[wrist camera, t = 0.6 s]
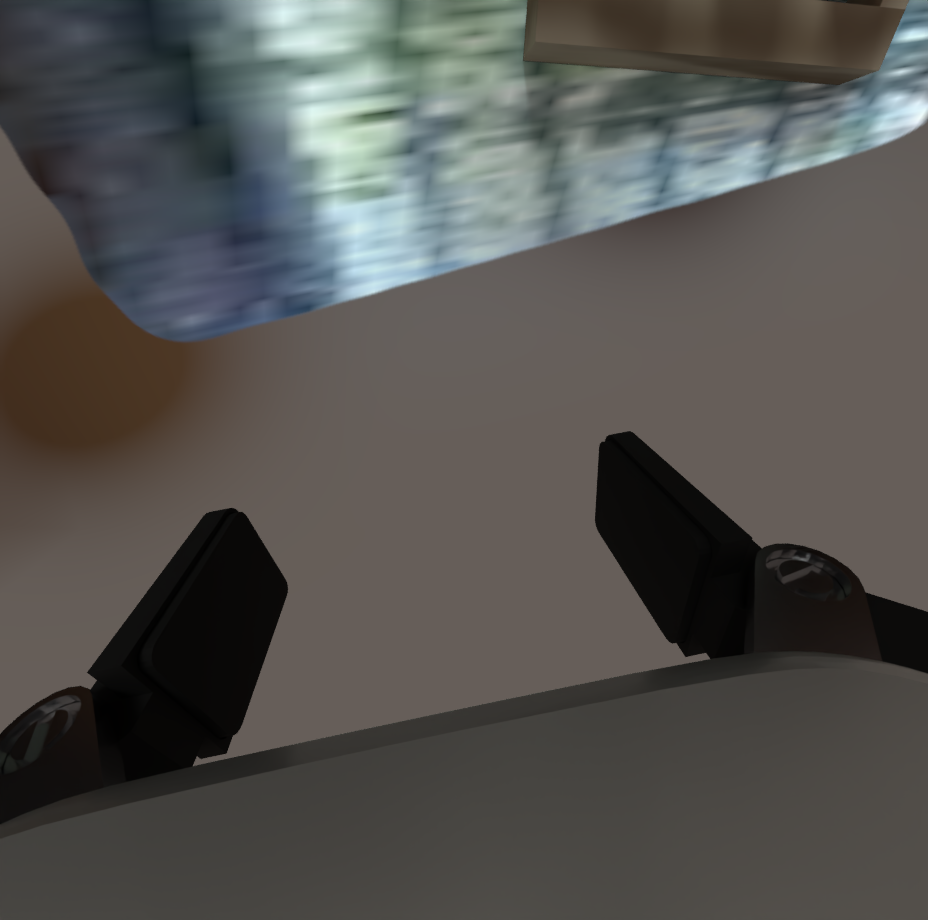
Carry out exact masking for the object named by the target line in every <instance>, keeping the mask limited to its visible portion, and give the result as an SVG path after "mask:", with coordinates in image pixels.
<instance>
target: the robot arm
mask: <svg viewBox="0 0 928 920" xmlns="http://www.w3.org/2000/svg"><path fill="white" fill-rule="evenodd" d="M595 523H596V527H597V530H598V532H599V533H600V535H601V537H602V538H603V540H604V541H605V543H606V544H607V546H608V548H609V549H610V551H611V552H612V554H613V556H614V557H615V559H616V560H617V562H618V563H619V565H620V567H621V568H622V570H623V571H624V573H625V574H626V576H627V578H628V579H629V581H630V582H631V584H632V585H633V587H634V589H635V590H636V592H637V593H638V595H639V597H640V598H641V599H642V601H643V603H644V604H645V606H646V607H647V609H648V611H649V612H650V614H651V615H652V617H653V619H654V620H655V622H656V623H657V625H658V626H659V628H660V630H661V631H662V633H663V634H664V636H665V637H666V639H667V640H668V641H669V642H671V643H677V644H678V646H679V648H680V649H681V651H682V652H683V654H684V655H685V657H688V656H692V655H697V654H702V653H707V655H708V656H709V657H710V660H703V661H698V662H693V663H688V664H682V665H677V666H671V667H666V668H661V669H656V670H650V671H644V672H639V673H633V674H629V675H624V676H619V677H614V678H609V679H604V680H599V681H595V682H589V683H585V684H580V685H575V686H570V687H565V688H560V689H555V690H550V691H545V692H541V693H536V694H531V695H526V696H521V697H516V698H511V699H506V700H502V701H497V702H492V703H487V704H482V705H478V706H473V707H468V708H463V709H459V710H454V711H449V712H444V713H440V714H435V715H430V716H425V717H421V718H416V719H411V720H406V721H402V722H397V723H392V724H388V725H383V726H378V727H374V728H369V729H364V730H359V731H354V732H350V733H345V734H340V735H335V736H331V737H326V738H321V739H317V740H312V741H307V742H303V743H298V744H294V745H289V746H284V747H280V748H275V749H270V750H266V751H261V752H257V753H252V754H248V755H243V756H238V757H234V758H229V759H224V760H220V761H215V762H211V763H206V764H201V765H197V766H193V764H194V761H195V759H196V756H198V757H199V758H201V759H203V758H207V757H212V756H217V755H222V754H226V753H227V751H228V748H229V745H230V742H231V739H232V737H233V735H235V734H236V733H237V732H238V731H239V729H240V728H241V725H242V723H243V720H244V717H245V714H246V711H247V709H248V706H249V703H250V700H251V697H252V694H253V691H254V688H255V686H256V682H257V680H258V677H259V674H260V671H261V668H262V665H263V663H264V660H265V657H266V654H267V651H268V648H269V645H270V642H271V639H272V636H273V634H274V631H275V628H276V625H277V622H278V619H279V617H280V614H281V611H282V608H283V605H284V602H285V599H286V596H287V593H288V585H287V582H286V580H285V578H284V576H283V575H282V573H281V571H280V570H279V568H278V566H277V565H276V563H275V562H274V560H273V558H272V557H271V555H270V553H269V552H268V550H267V549H266V547H265V545H264V544H263V542H262V540H261V539H260V537H259V536H258V534H257V532H256V531H255V530H254V527H253V526H252V524H251V522H250V521H249V519H248V518H247V516H246V515H245V514H244V513H243V512H238V511H237V510H236V509H234V508H229V509H223V510H218V511H213V512H209V513H206V514H205V515H204V516H203V518H202V519H201V520H200V522H199V523H198V524H197V526H196V527H195V528H194V530H193V531H192V532H191V534H190V535H189V536H188V538H187V539H186V540H185V542H184V543H183V544H182V546H181V547H180V549H179V550H178V551H177V552H176V554H175V555H174V557H173V558H172V559H171V561H170V562H169V563H168V565H167V566H166V567H165V569H164V570H163V571H162V573H161V574H160V575H159V577H158V578H157V579H156V581H155V582H154V584H153V585H152V586H151V587H150V589H149V590H148V591H147V593H146V594H145V595H144V597H143V598H142V599H141V601H140V602H139V604H138V605H137V606H136V608H135V609H134V610H133V612H132V613H131V614H130V616H129V617H128V618H127V620H126V621H125V622H124V624H123V625H122V627H121V628H120V629H119V630H118V632H117V633H116V635H115V636H114V637H113V638H112V640H111V641H110V642H109V644H108V645H107V647H106V648H105V649H104V651H103V652H102V653H101V655H100V656H99V657H98V659H97V660H96V661H95V663H94V664H93V665H92V667H91V668H90V669H89V671H88V672H87V673H88V674H90V675H91V676H92V677H94V678H95V679H96V680H97V681H96V683H95V684H94V686H93V687H92V688H91V690H90V689H88V688H85V687H82V686H76V687H68V688H66V689H63V690H61V691H58V692H55V693H53V694H51V695H50V696H48V697H46V698H45V699H42V700H41V701H39V702H37V703H36V704H35V705H33V706H32V707H30V708H29V709H28V710H26V711H25V712H23V713H22V714H21V715H20V716H19V717H17V718H16V719H15V720H14V721H13V722H12V723H11V724H10V725H8V726H7V727H6V728H5V729H4V730H3V731H2V733H1V734H0V920H928V612H926V611H923V610H920V609H917V608H914V607H910V606H907V605H904V604H901V603H897V602H894V601H891V600H888V599H885V598H882V597H878V596H875V595H871V594H868V593H866V592H865V590H864V587H863V586H862V584H861V582H860V580H859V578H858V577H857V576H856V575H855V574H854V573H853V572H852V571H851V570H850V569H849V568H848V567H847V566H845V565H844V564H842V563H841V562H839V561H838V560H837V559H835V558H833V557H831V556H829V555H827V554H824V553H823V552H820V551H818V550H815V549H812V548H808V547H805V546H800V545H794V544H773V545H769V546H766V547H764V548H761V547H760V546H758V545H757V544H756V543H755V542H754V541H753V540H752V537H751V536H750V535H749V534H747V533H746V532H745V531H744V530H743V529H742V528H741V527H739V526H738V525H737V524H736V523H735V522H734V521H732V519H730V518H729V517H728V516H727V515H726V514H725V513H724V512H722V511H721V510H720V509H719V508H718V507H717V506H716V505H715V504H713V503H712V502H711V501H710V500H709V499H708V498H706V497H705V496H704V495H703V494H702V493H701V492H700V491H699V490H698V489H696V488H695V487H694V486H693V485H692V484H690V482H688V481H687V480H686V479H685V478H684V477H683V476H682V475H681V474H679V473H678V472H677V471H676V470H675V469H674V468H672V467H671V466H670V465H669V464H668V463H667V462H666V461H664V459H662V458H661V457H660V456H659V455H658V454H657V453H656V452H654V451H653V450H652V449H651V448H650V447H649V446H647V444H645V443H644V442H643V441H642V440H641V439H640V438H638V437H637V436H636V435H635V434H634V433H633V432H631V431H628V432H623V433H617V434H613V435H608V436H607V437H606V439H605V442H601V443H600V447H599V461H598V478H597V495H596V512H595Z"/></svg>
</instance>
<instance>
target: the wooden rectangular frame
mask: <svg viewBox="0 0 928 920" xmlns="http://www.w3.org/2000/svg"><path fill="white" fill-rule="evenodd" d="M908 1H909V0H847V2H846V3H840V2H831V1H821V0H528V1H527V15H526V29H525V43H524V57H523V61H534V62H547V63H560V64H573V65H586V66H599V67H612V68H625V69H638V70H651V71H664V72H677V73H690V74H703V75H716V76H729V77H742V78H755V79H768V80H781V81H794V82H806V83H819V84H832V85H840V84H842V83H845V82H848V81H851V80H854V79H856V78H859V77H862V76H865V75H868V74H870V73H873V72H876V71H879V69H880V67H881V64H882V62H883V60H884V57H885V55H886V53H887V50H888V48H889V46H890V43H891V41H892V39H893V36H894V34H895V32H896V29H897V27H898V25H899V22H900V20H901V18H902V15H903V13H904V11H905V8H906V6H907V4H908Z"/></svg>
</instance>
